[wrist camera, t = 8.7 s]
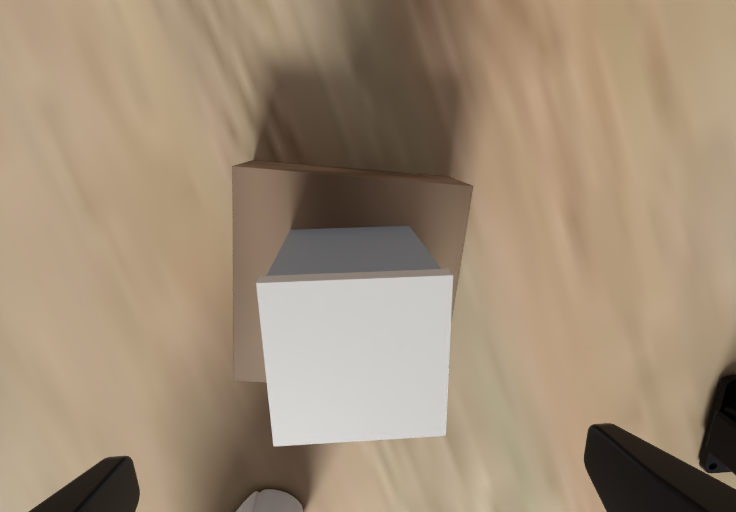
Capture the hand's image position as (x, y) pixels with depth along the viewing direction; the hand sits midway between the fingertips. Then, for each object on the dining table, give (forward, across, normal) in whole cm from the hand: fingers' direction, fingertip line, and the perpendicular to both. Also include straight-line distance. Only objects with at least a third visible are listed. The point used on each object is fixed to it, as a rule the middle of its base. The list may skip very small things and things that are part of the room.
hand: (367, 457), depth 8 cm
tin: (+9, 0, 0) cm, 9 cm away
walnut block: (+13, 0, 0) cm, 13 cm away
